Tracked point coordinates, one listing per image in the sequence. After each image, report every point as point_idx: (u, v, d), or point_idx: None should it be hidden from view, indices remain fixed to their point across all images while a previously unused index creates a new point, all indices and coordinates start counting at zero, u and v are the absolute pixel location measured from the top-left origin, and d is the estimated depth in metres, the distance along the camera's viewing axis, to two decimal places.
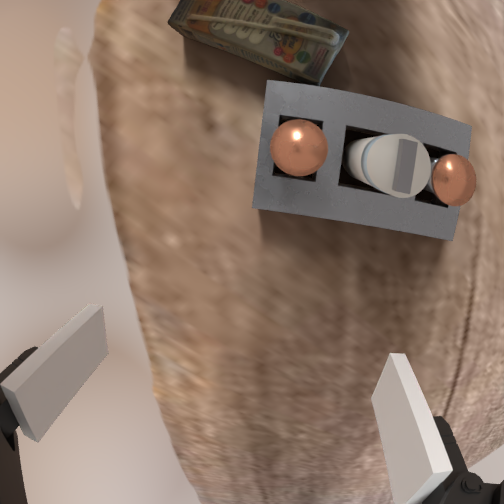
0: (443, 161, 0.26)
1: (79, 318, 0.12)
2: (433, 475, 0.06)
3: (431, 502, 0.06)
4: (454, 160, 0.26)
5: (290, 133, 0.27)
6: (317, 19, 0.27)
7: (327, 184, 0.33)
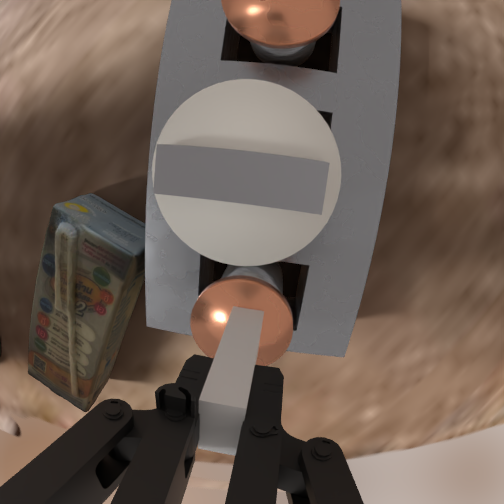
0: (241, 25, 0.11)
1: (235, 321, 0.14)
2: (224, 407, 0.09)
3: None
4: (235, 1, 0.11)
5: (216, 340, 0.16)
6: (47, 251, 0.20)
7: (314, 244, 0.19)
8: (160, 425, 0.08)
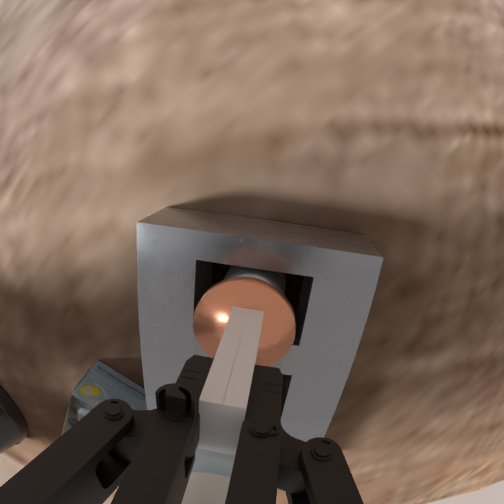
0: (211, 353, 0.17)
1: (235, 321, 0.14)
2: (224, 407, 0.09)
3: None
4: (205, 333, 0.16)
5: None
6: (71, 416, 0.24)
7: None
8: (160, 425, 0.08)
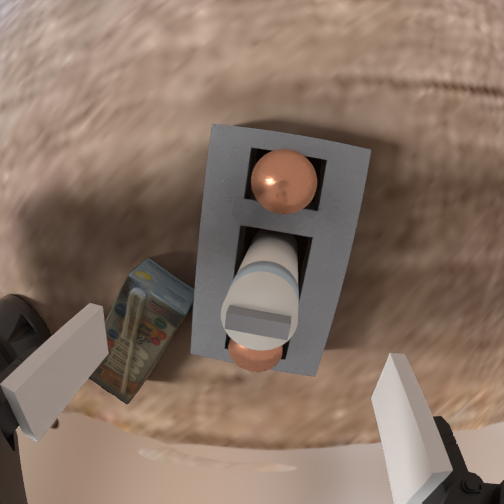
0: (261, 201, 0.26)
1: (79, 318, 0.12)
2: (433, 475, 0.06)
3: (431, 502, 0.06)
4: (259, 184, 0.25)
5: (241, 356, 0.31)
6: (120, 301, 0.33)
7: None
8: None
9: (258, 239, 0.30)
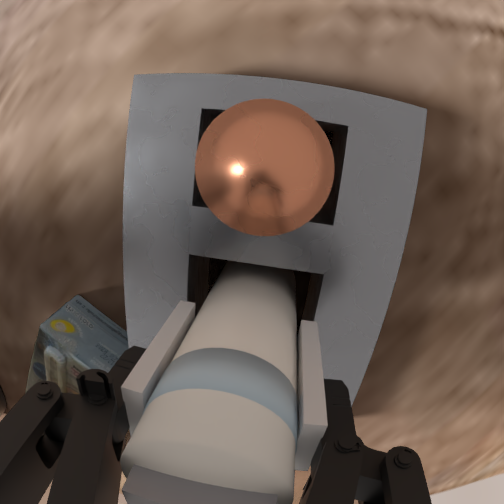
0: (218, 210, 0.12)
1: (178, 315, 0.14)
2: (305, 426, 0.09)
3: (314, 460, 0.09)
4: (211, 176, 0.12)
5: None
6: (37, 360, 0.19)
7: None
8: (85, 410, 0.08)
9: (225, 277, 0.17)
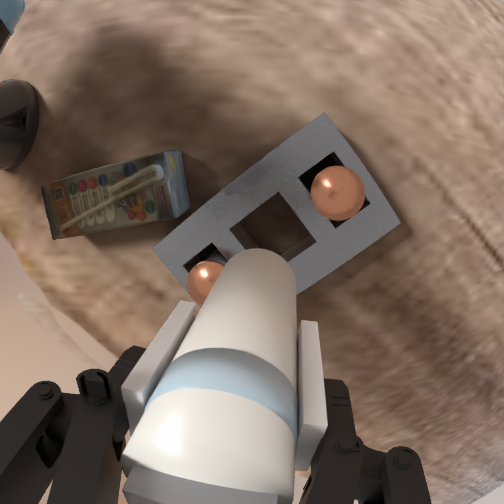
0: (313, 191, 0.30)
1: (178, 315, 0.14)
2: (305, 426, 0.09)
3: (314, 459, 0.09)
4: (321, 180, 0.29)
5: (196, 281, 0.34)
6: (136, 163, 0.33)
7: None
8: (85, 410, 0.08)
9: (225, 277, 0.17)
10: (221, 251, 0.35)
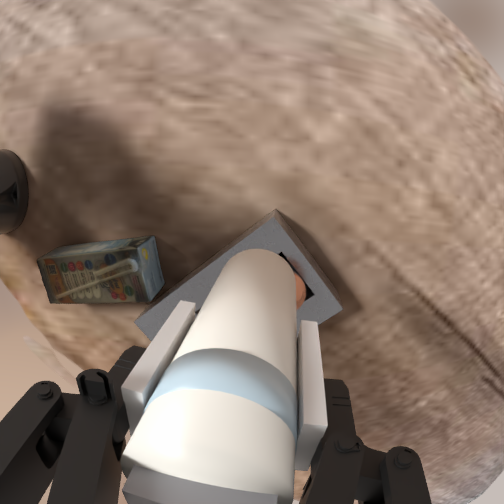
0: None
1: (178, 315, 0.14)
2: (305, 426, 0.09)
3: (314, 460, 0.09)
4: None
5: None
6: (115, 255, 0.38)
7: None
8: (85, 410, 0.08)
9: (225, 277, 0.17)
10: None
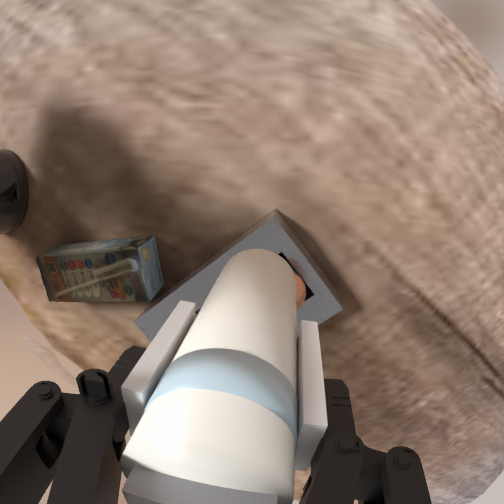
0: None
1: (178, 315, 0.14)
2: (305, 426, 0.09)
3: (314, 459, 0.09)
4: None
5: None
6: (115, 254, 0.38)
7: None
8: (85, 410, 0.08)
9: (225, 277, 0.17)
10: None
